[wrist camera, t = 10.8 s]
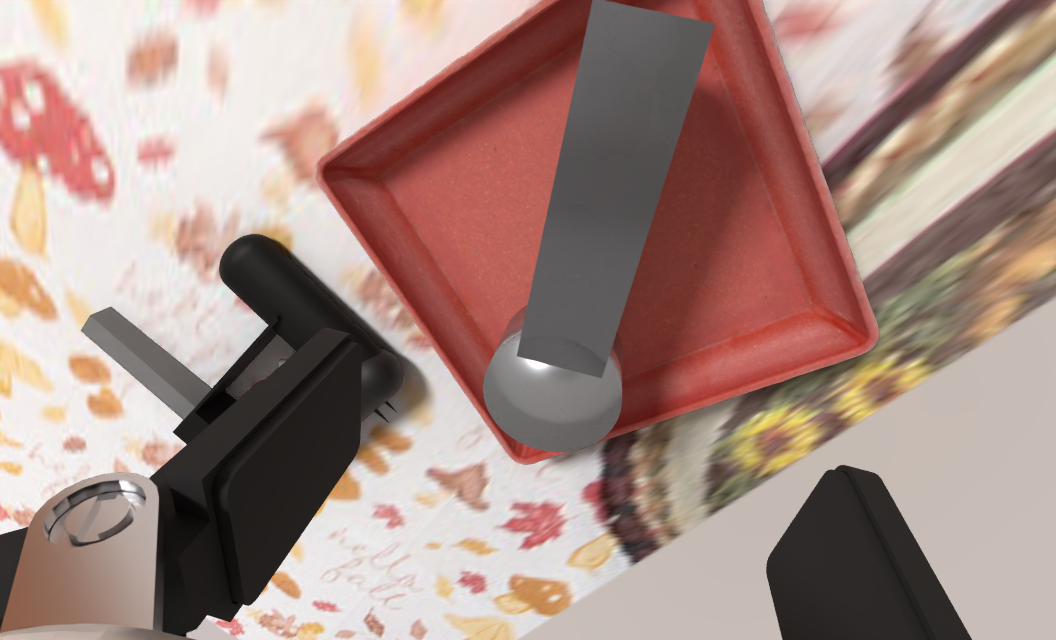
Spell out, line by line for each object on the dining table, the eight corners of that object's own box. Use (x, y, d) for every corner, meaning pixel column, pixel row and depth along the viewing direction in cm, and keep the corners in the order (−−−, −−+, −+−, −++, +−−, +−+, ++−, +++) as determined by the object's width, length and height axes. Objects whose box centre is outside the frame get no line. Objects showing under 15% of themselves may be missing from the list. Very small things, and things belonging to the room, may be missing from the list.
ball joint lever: (567, 2, 17) (554, -11, 14) (731, 36, 17) (755, 32, 14) (493, 384, 25) (474, 432, 22) (604, 414, 25) (601, 466, 22)
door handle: (36, 387, 32) (234, 550, 35) (167, 170, 23) (414, 410, 26) (88, 361, 35) (266, 514, 38) (220, 160, 26) (437, 377, 29)
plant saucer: (339, 156, 24) (301, 169, 22) (703, -101, 18) (718, -132, 15) (527, 431, 30) (517, 470, 27) (855, 312, 24) (887, 348, 21)
